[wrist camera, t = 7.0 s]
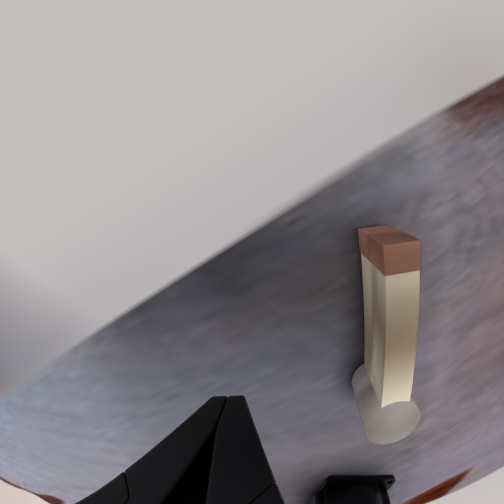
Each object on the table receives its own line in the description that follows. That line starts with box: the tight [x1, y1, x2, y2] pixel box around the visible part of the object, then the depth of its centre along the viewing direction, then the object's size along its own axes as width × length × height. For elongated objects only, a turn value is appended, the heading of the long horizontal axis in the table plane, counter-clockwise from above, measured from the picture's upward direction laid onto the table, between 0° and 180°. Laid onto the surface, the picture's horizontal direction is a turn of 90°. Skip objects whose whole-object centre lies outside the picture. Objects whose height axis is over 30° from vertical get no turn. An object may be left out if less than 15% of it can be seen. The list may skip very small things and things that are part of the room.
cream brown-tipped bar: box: [351, 225, 421, 444], centre depth 14 cm, size 11×3×4 cm, turn 9°
